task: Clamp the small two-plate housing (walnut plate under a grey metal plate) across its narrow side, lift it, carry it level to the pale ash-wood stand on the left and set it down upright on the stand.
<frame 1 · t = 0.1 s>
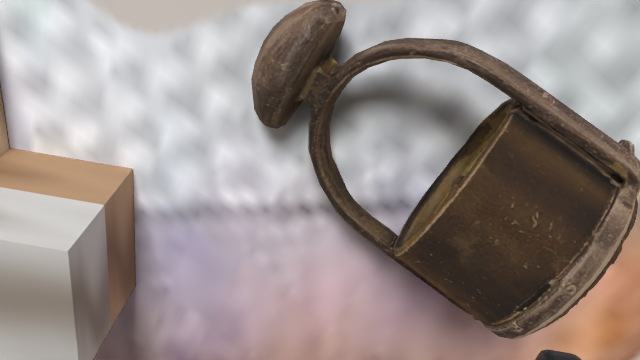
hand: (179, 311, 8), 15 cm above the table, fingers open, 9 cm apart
housing: (77, 219, 26), on the table
mechanical counter: (438, 115, 22), on the table
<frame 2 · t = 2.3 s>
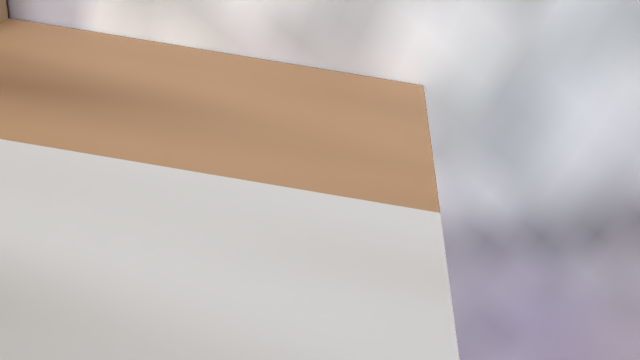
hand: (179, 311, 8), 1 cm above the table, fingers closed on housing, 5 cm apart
housing: (205, 252, 9), on the table, touching gripper
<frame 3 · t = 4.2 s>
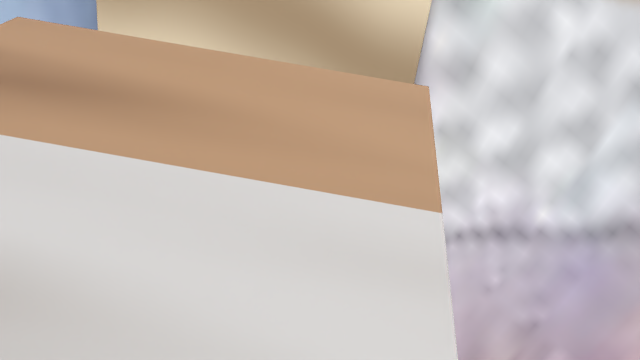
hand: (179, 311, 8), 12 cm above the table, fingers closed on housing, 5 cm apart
ash stand: (268, 7, 18), on the table
housing: (209, 252, 9), point 11 cm above the table, touching gripper
when the fingers open (4 cm above the table, at t = 6.2 s): housing stays where it is, resting on ash stand.
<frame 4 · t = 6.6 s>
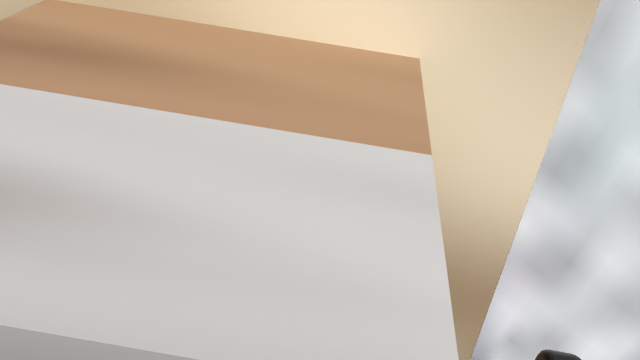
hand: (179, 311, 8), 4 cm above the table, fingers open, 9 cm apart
ash stand: (241, 167, 11), on the table
housing: (220, 215, 9), point 2 cm above the table, touching ash stand
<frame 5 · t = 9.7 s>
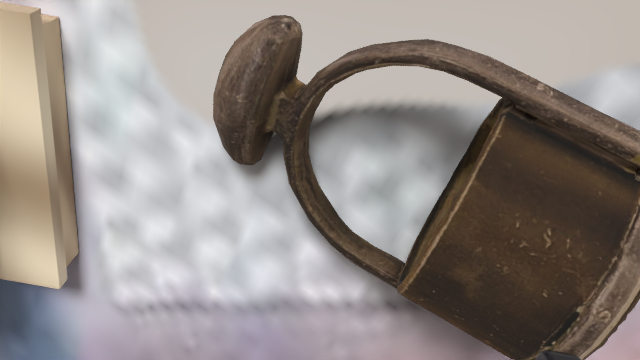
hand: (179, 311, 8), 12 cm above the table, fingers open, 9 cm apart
mechanical counter: (431, 123, 19), on the table
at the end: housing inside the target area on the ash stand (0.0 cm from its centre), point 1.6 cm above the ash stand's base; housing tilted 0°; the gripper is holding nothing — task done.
